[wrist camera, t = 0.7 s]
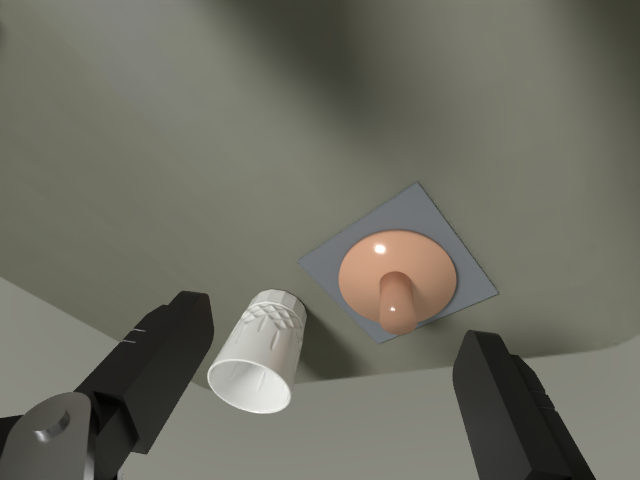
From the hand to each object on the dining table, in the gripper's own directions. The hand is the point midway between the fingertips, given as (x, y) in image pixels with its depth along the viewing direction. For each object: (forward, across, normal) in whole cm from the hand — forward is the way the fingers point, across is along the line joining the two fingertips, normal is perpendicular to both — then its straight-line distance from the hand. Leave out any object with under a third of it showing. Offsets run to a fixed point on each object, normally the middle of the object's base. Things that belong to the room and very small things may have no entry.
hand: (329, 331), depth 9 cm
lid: (+18, -5, +10) cm, 22 cm away
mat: (+19, -5, +10) cm, 22 cm away
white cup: (+20, +7, +18) cm, 27 cm away
